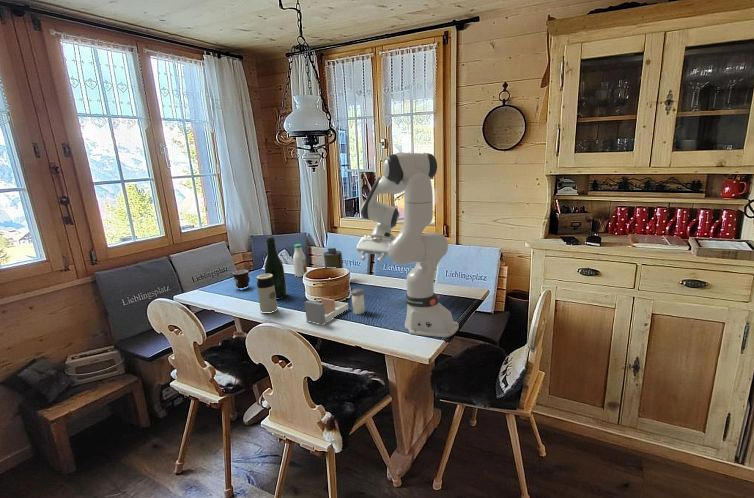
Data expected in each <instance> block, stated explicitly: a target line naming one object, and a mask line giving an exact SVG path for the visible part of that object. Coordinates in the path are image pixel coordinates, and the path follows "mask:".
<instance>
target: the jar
mask: <svg viewBox="0 0 754 498" xmlns="http://www.w3.org/2000/svg"><path fill="white" fill-rule="evenodd" d="M350 294H351V304H352V314H354V313H355V314H354V315H357V314H359V315H362V314H361V313H363V314H365V313H364V312H365V311H366V309H365V296H364V294H365V293H364V289H363V288H353V289H352V290H350Z"/></svg>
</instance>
